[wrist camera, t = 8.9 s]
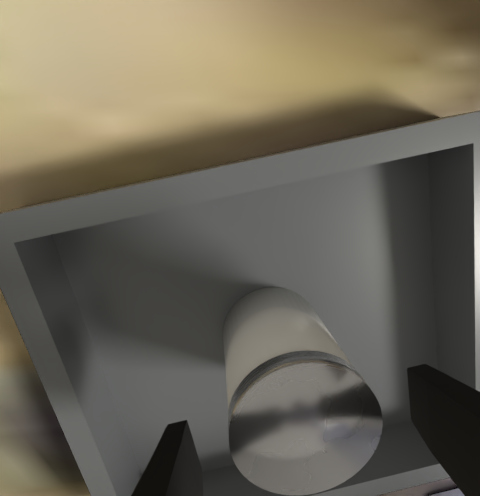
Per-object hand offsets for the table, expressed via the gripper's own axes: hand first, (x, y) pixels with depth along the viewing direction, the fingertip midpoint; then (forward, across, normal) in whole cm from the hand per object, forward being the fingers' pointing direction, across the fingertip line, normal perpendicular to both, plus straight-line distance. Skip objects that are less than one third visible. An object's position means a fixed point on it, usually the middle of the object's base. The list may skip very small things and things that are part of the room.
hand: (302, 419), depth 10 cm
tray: (+6, 0, 0) cm, 6 cm away
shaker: (+5, 0, 0) cm, 5 cm away
